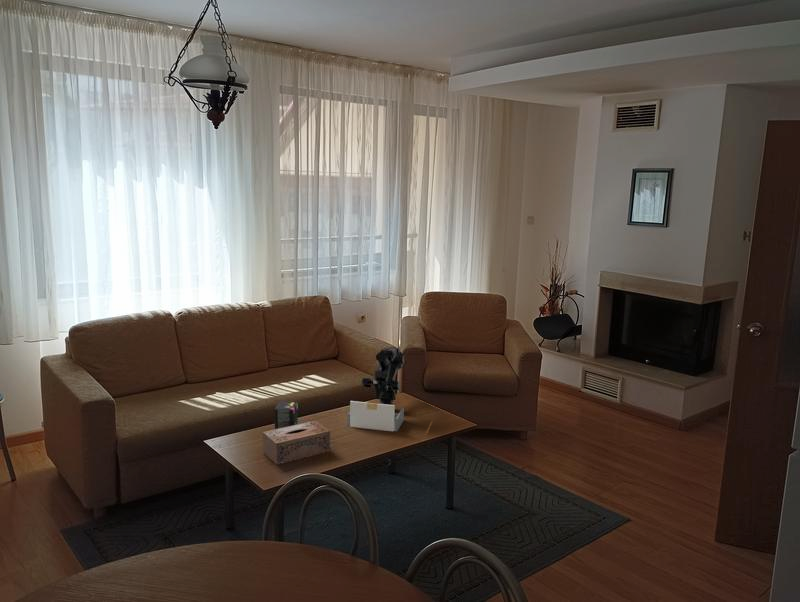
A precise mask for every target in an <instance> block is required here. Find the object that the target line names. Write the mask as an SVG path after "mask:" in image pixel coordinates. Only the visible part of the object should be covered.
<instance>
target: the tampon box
mask: <svg viewBox="0 0 800 602" xmlns="http://www.w3.org/2000/svg"><path fill="white" fill-rule="evenodd" d="M298 403H299V402H297V401H296V402H295V401H279V402H278V403H277V405H276V406H275V408H274V411H273V412H274V429H279V428H284V427H288V426H293V425H298V422H299V420H298V416H299V415H298V411H299V409H298V407H299V405H298Z"/></svg>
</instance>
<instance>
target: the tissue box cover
mask: <svg viewBox="0 0 800 602" xmlns="http://www.w3.org/2000/svg"><path fill="white" fill-rule="evenodd" d="M329 451H330V452H331V431H330V429H328V428H326V427H325V426H323V425H322V424H321V423H319V422H318V421H316V420H313V421H307V422H304V423H303V422H302V423H299V424H298V425H293V426H288V427H284V428H279V429H275V428H274V429H270V430H267V431H266V430H265V431H262V453H263V452H264V453H265V454H266V455H267V456H268V457H269V458H270V459H271V460H272V461H274V462H275V463H276V464H278V463H281V462H286V463H288V462H287V461H290V460H294V461H296V460H295V459H298V460H300V459H299V458H302V459H304V458H303V457H306V458H308V457H307V456H311V455H315V456H317V455H316V454H319V453H323V454H325V453H324V452H327V453H329ZM264 453H263V454H264ZM265 454H264V455H265ZM266 455H265V456H266ZM319 455H320V454H319ZM267 456H266V457H267ZM268 457H267V458H268ZM311 457H312V456H311ZM269 458H268V459H269ZM270 459H269V460H270ZM272 461H271V462H272ZM274 462H273V463H274ZM290 462H291V461H290ZM275 463H274V464H275ZM276 464H275V465H276ZM278 465H279V464H278Z"/></svg>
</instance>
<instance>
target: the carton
mask: <svg viewBox="0 0 800 602" xmlns="http://www.w3.org/2000/svg"><path fill="white" fill-rule="evenodd" d="M404 417H405V408H403V407H402V408H401V409H400V411H399V412H398V413H395V414H394V431H395V432H398V431H399V429H400V427H401V425H402V424H403V422H404V420H405V418H404ZM347 427H350V411H349V412H348V413H347ZM394 431H393V432H394Z"/></svg>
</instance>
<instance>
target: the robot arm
mask: <svg viewBox="0 0 800 602" xmlns="http://www.w3.org/2000/svg"><path fill="white" fill-rule="evenodd" d="M375 360H376V363H377V366H378V368H377V370H374V375H373V378H374V380H372V378H371V377H363V378H362V379H361V383H362V386H363V387H364V388H371V387H372V388H373V390H375V396H376V399H377V400H380V401H379V404H387V405H393V401H395V400H396V392H395V391H400V388H401V387H400V386H401V385H400V382H399V380H396V379H395V378H396V376H397V374H398V370H400V369H402V368H403V365H404V364H405V356H404V353H403V352H402V351H401V350H400V348H399V347H390V348H388V349H383V348H382V349H380V351H379V352H378V353H377V354H376V355H375Z"/></svg>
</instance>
